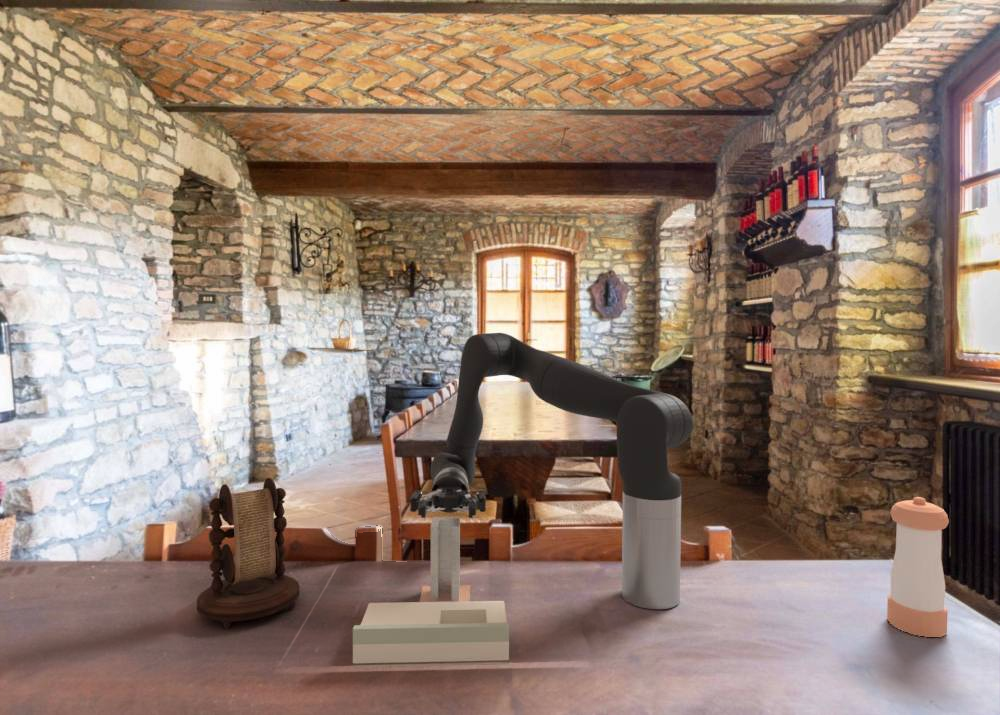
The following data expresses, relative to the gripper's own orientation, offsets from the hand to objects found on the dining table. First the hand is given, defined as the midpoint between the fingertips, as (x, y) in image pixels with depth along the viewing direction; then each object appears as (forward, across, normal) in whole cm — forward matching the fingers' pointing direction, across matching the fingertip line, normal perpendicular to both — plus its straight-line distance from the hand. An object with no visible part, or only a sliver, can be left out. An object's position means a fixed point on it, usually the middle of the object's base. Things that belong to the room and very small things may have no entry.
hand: (447, 512), depth 107 cm
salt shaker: (+23, +70, +10) cm, 75 cm away
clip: (+12, 0, +10) cm, 15 cm away
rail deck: (+25, -1, +10) cm, 27 cm away
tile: (+12, 0, +11) cm, 16 cm away
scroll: (+14, -30, +11) cm, 35 cm away
